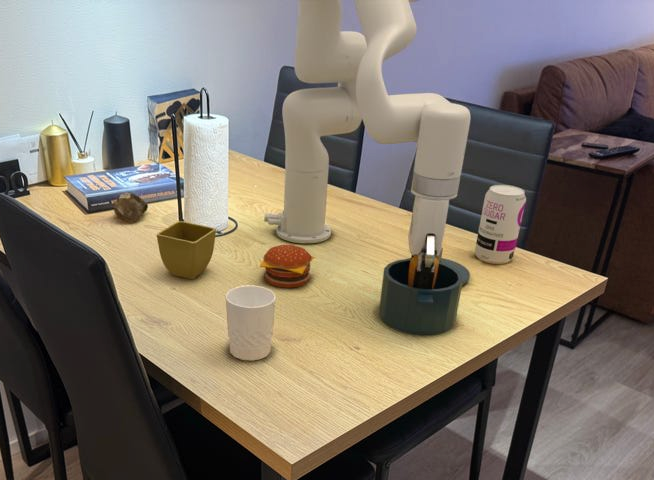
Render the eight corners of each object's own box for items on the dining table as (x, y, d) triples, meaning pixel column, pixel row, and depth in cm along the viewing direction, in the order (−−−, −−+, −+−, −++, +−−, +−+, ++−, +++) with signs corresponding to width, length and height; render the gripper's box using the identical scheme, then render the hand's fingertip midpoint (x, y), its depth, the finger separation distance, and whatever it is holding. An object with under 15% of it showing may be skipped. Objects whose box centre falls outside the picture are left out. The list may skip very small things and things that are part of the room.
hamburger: (315, 272, 141) (317, 242, 137) (302, 292, 133) (304, 260, 129) (271, 265, 143) (272, 235, 139) (256, 284, 135) (257, 253, 132)
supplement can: (513, 253, 152) (528, 186, 144) (511, 267, 145) (527, 198, 137) (475, 248, 154) (488, 182, 146) (472, 261, 147) (485, 193, 140)
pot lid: (397, 288, 135) (401, 259, 132) (395, 259, 148) (399, 232, 145) (473, 293, 134) (478, 265, 131) (464, 264, 146) (469, 237, 143)
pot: (379, 339, 118) (384, 294, 113) (378, 291, 134) (383, 250, 129) (459, 346, 117) (468, 301, 112) (449, 296, 133) (457, 255, 128)
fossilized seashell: (126, 198, 170) (101, 216, 163) (133, 178, 165) (109, 197, 158) (150, 216, 170) (127, 236, 163) (158, 198, 165) (135, 217, 158)
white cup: (225, 339, 117) (224, 285, 111) (271, 338, 117) (273, 284, 112) (226, 363, 110) (226, 307, 105) (275, 362, 110) (277, 307, 105)
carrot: (429, 308, 127) (441, 231, 119) (431, 321, 123) (445, 242, 115) (402, 307, 127) (412, 230, 119) (403, 319, 123) (414, 240, 115)
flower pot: (217, 269, 141) (217, 227, 136) (196, 286, 134) (194, 242, 129) (180, 261, 144) (179, 220, 139) (157, 277, 137) (155, 234, 132)
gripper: (409, 167, 120) (397, 258, 129) (414, 199, 105) (400, 300, 115) (453, 170, 119) (437, 261, 128) (464, 203, 105) (445, 303, 114)
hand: (420, 279), depth 121 cm, fingers open, 9 cm apart
